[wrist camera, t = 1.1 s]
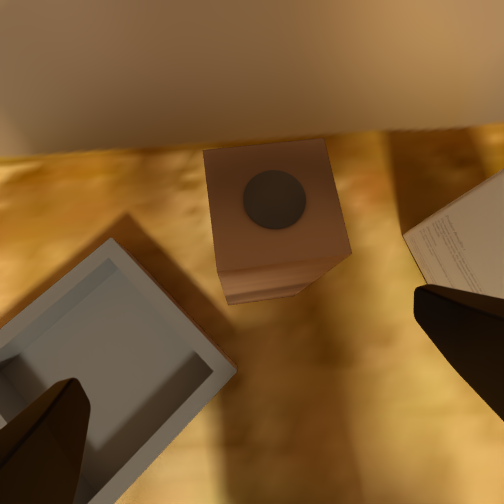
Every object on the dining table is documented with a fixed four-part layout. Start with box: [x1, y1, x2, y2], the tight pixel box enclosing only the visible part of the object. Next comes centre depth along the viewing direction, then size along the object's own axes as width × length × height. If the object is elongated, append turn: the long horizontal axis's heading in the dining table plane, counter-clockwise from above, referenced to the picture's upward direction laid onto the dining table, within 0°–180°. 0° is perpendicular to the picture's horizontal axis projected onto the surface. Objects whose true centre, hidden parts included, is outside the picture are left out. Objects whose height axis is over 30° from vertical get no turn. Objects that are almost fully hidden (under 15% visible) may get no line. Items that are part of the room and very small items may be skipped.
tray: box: [0, 237, 237, 504], centre depth 19 cm, size 12×12×3 cm
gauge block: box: [203, 138, 352, 305], centre depth 17 cm, size 5×5×12 cm
